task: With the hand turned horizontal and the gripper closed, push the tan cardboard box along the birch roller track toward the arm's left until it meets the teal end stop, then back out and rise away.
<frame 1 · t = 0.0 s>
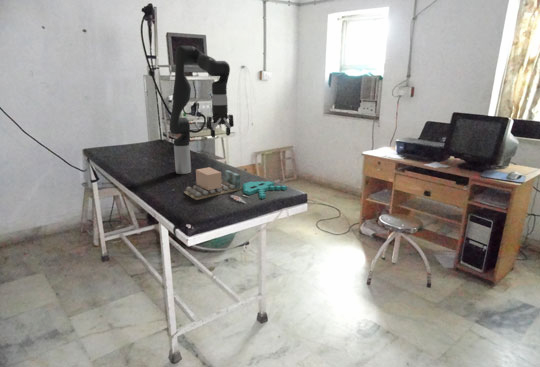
hand: (220, 136, 185), 29 cm above the table, tool pointing down, fingers open, 8 cm apart
tan cardboard box: (208, 178, 191), point 7 cm above the table, slide at 9.0 cm
alien figure: (260, 190, 198), on the table
roller track: (213, 191, 195), on the table
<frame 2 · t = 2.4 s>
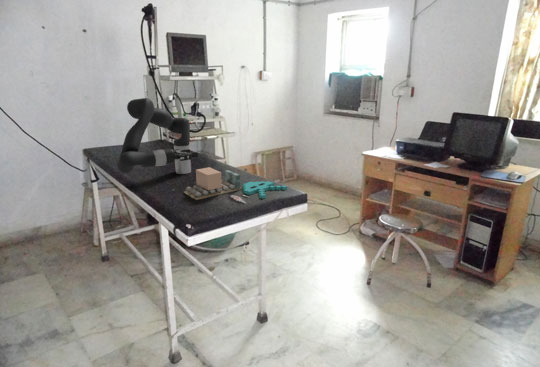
hand: (193, 152, 181), 22 cm above the table, tool horizontal, fingers open, 8 cm apart
nothing on the table moved.
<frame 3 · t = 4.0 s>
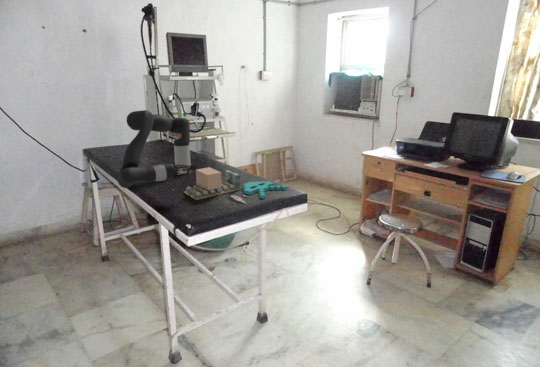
hand: (195, 166, 184), 15 cm above the table, tool horizontal, fingers closed
nothing on the table moved.
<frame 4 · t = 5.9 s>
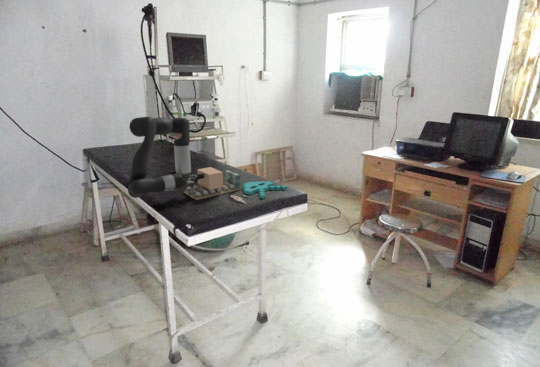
hand: (203, 175, 188), 9 cm above the table, tool horizontal, fingers closed
tan cardboard box: (210, 178, 191), point 7 cm above the table, slide at 8.1 cm, touching gripper
everything else where it was.
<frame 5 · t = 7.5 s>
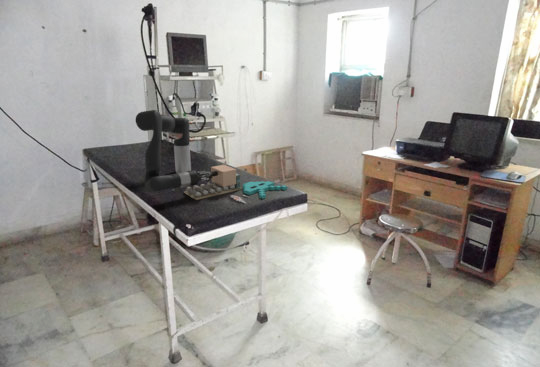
hand: (216, 173, 193), 9 cm above the table, tool horizontal, fingers closed
tan cardboard box: (223, 175, 196), point 7 cm above the table, slide at 0.0 cm, touching gripper
everything else where it was.
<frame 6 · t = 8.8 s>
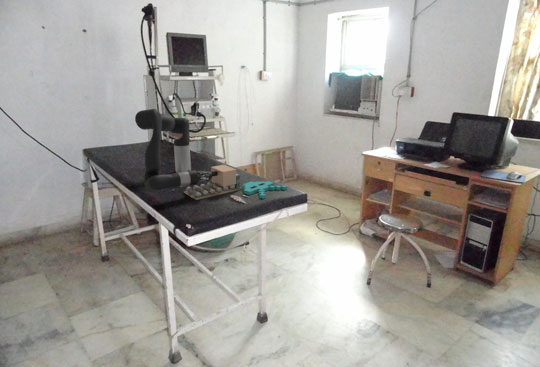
hand: (216, 173, 193), 9 cm above the table, tool horizontal, fingers closed
nothing on the table moved.
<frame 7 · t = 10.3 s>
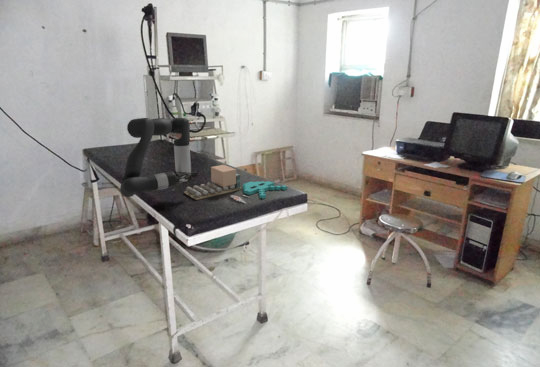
hand: (196, 174, 186), 11 cm above the table, tool horizontal, fingers closed
tan cardboard box: (223, 175, 196), point 7 cm above the table, slide at 0.0 cm
everything else where it was.
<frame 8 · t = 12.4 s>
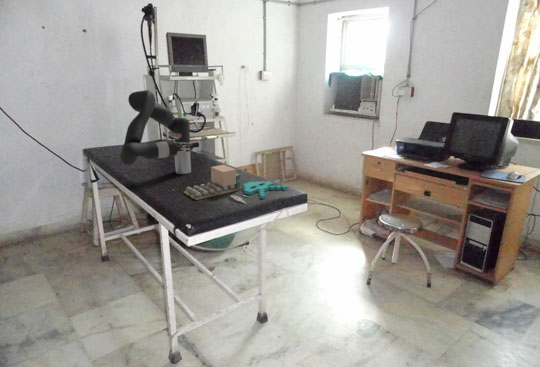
hand: (198, 144, 182), 26 cm above the table, tool horizontal, fingers closed
nothing on the table moved.
at the end: tan cardboard box slide at 0.0 cm; alien figure moved 0.7 cm from its start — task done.
